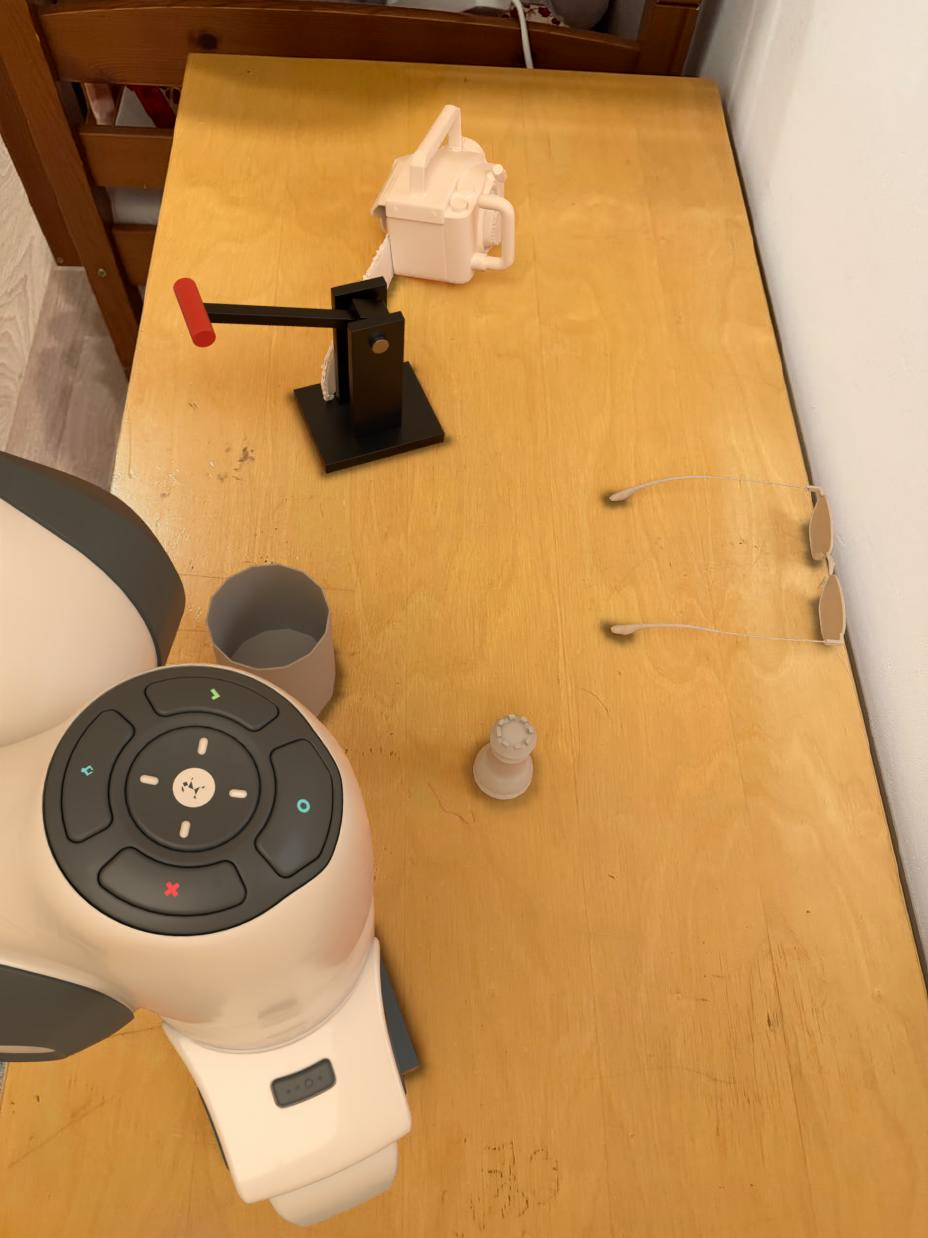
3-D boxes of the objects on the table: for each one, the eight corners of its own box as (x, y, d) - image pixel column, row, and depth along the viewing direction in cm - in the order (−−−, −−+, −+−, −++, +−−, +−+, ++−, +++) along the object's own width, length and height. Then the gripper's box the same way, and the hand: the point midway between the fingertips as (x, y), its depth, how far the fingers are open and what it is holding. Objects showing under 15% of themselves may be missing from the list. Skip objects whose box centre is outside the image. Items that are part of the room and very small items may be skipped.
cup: (206, 709, 76) (184, 647, 67) (250, 619, 80) (235, 549, 71) (312, 743, 75) (304, 685, 66) (351, 650, 79) (348, 584, 70)
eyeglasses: (830, 664, 82) (850, 641, 78) (609, 643, 81) (620, 619, 78) (810, 509, 89) (827, 482, 86) (608, 489, 89) (617, 461, 85)
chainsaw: (296, 409, 91) (268, 296, 80) (411, 179, 109) (400, 63, 98) (458, 438, 88) (451, 325, 78) (548, 197, 106) (552, 80, 96)
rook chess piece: (471, 800, 74) (481, 760, 67) (473, 743, 76) (482, 698, 69) (531, 803, 74) (548, 764, 67) (532, 747, 76) (547, 703, 69)
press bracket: (326, 474, 87) (318, 360, 75) (294, 398, 91) (281, 278, 79) (444, 441, 90) (454, 327, 78) (408, 369, 94) (413, 249, 82)
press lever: (189, 351, 72) (196, 325, 70) (170, 298, 74) (175, 272, 73) (390, 356, 81) (400, 333, 79) (367, 309, 83) (376, 285, 81)
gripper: (111, 720, 42) (170, 823, 54) (253, 1257, 33) (285, 1238, 45) (259, 673, 44) (284, 784, 56) (432, 1174, 35) (417, 1177, 47)
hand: (285, 991), depth 50 cm, fingers open, 5 cm apart
